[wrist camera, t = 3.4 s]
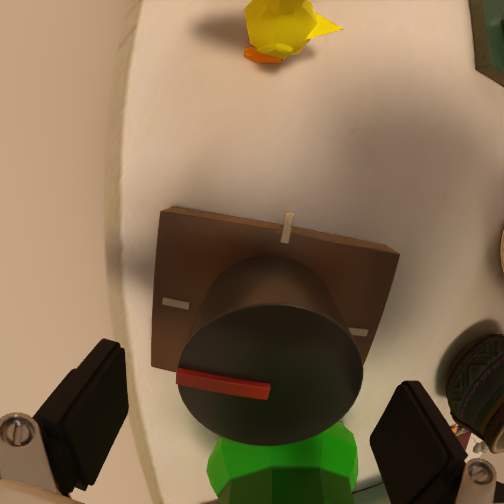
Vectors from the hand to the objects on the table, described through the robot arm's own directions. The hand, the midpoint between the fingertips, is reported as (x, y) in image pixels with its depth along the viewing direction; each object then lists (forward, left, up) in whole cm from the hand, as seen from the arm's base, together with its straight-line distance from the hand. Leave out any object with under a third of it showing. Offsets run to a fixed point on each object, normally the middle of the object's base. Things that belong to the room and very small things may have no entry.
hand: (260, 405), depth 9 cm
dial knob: (0, 0, -6) cm, 6 cm away
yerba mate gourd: (-18, +3, -9) cm, 20 cm away
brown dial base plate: (0, 0, -8) cm, 8 cm away
